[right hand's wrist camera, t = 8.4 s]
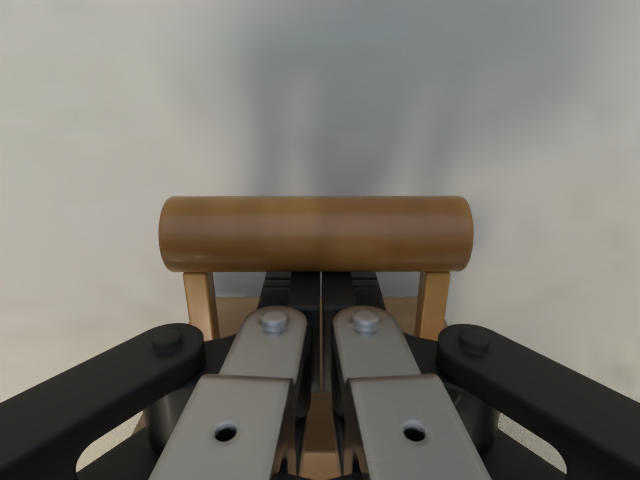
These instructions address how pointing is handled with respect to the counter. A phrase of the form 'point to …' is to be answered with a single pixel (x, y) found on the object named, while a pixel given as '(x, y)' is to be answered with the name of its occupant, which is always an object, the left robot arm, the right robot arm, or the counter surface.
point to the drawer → (315, 264)
